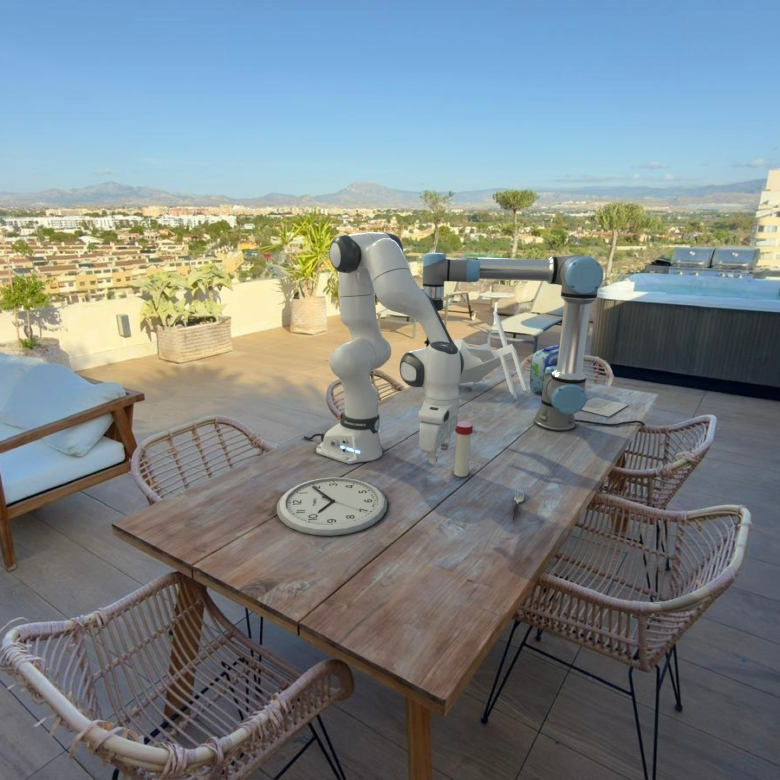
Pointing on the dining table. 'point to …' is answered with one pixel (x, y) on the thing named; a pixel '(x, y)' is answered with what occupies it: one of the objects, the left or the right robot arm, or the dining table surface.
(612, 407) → the invitation card
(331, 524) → the wall clock
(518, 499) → the fork
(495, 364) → the white plastic object
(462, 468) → the jar
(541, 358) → the lunch box
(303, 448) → the dining table surface
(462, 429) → the lid
